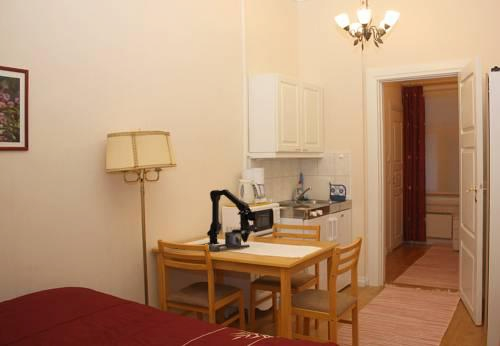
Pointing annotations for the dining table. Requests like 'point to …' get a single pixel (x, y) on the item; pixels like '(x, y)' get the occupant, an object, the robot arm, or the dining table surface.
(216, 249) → the guide channel
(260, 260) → the dining table surface
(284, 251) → the dining table surface
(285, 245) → the dining table surface
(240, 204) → the robot arm
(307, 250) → the dining table surface
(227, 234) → the small box
